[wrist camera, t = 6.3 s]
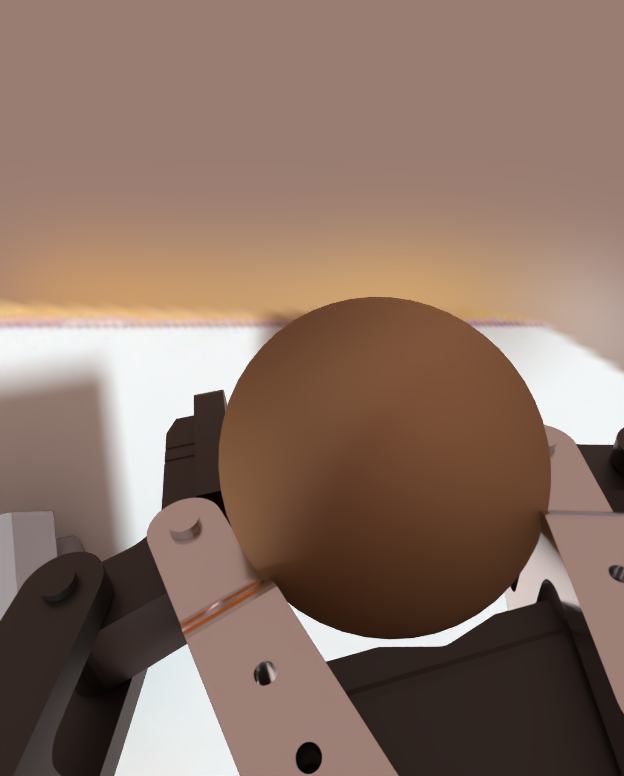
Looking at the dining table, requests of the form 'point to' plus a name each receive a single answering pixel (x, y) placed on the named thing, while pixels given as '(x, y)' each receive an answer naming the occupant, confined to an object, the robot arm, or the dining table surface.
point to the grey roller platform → (27, 549)
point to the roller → (384, 467)
